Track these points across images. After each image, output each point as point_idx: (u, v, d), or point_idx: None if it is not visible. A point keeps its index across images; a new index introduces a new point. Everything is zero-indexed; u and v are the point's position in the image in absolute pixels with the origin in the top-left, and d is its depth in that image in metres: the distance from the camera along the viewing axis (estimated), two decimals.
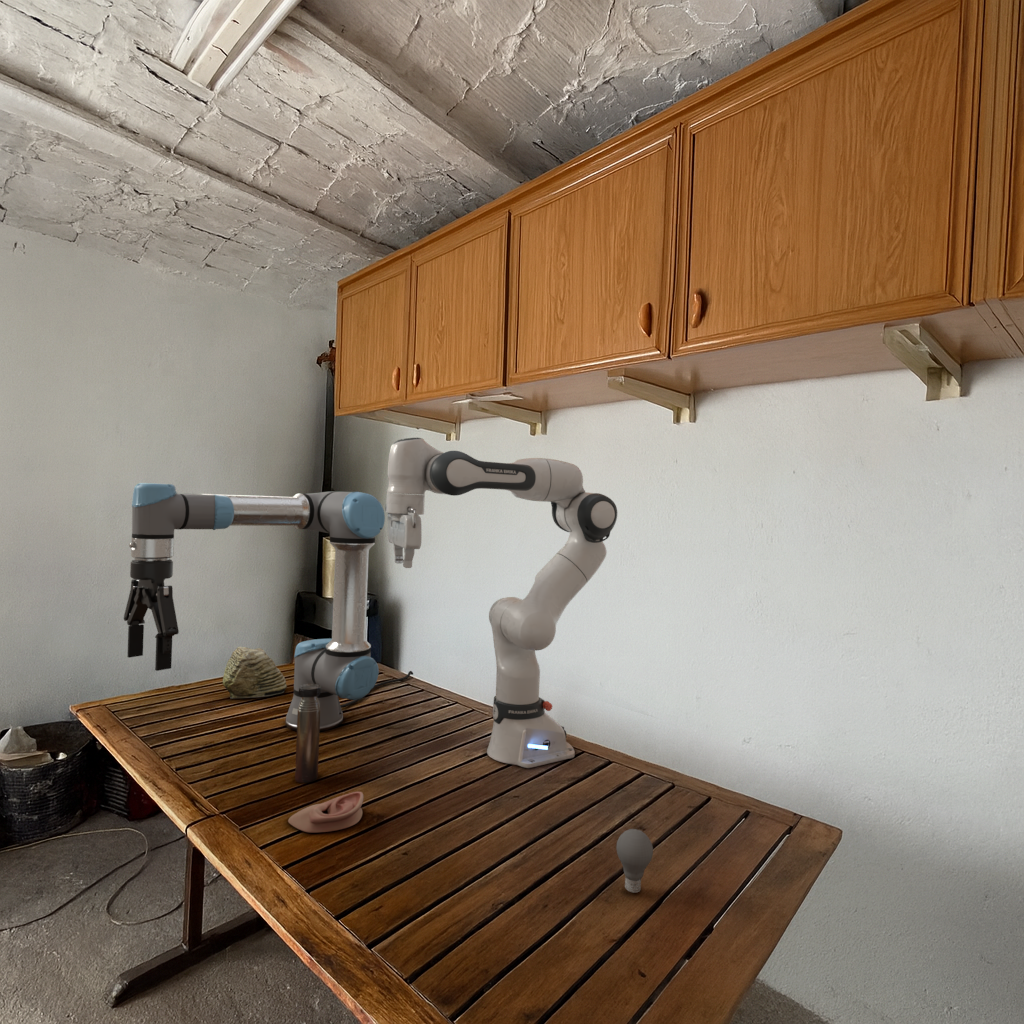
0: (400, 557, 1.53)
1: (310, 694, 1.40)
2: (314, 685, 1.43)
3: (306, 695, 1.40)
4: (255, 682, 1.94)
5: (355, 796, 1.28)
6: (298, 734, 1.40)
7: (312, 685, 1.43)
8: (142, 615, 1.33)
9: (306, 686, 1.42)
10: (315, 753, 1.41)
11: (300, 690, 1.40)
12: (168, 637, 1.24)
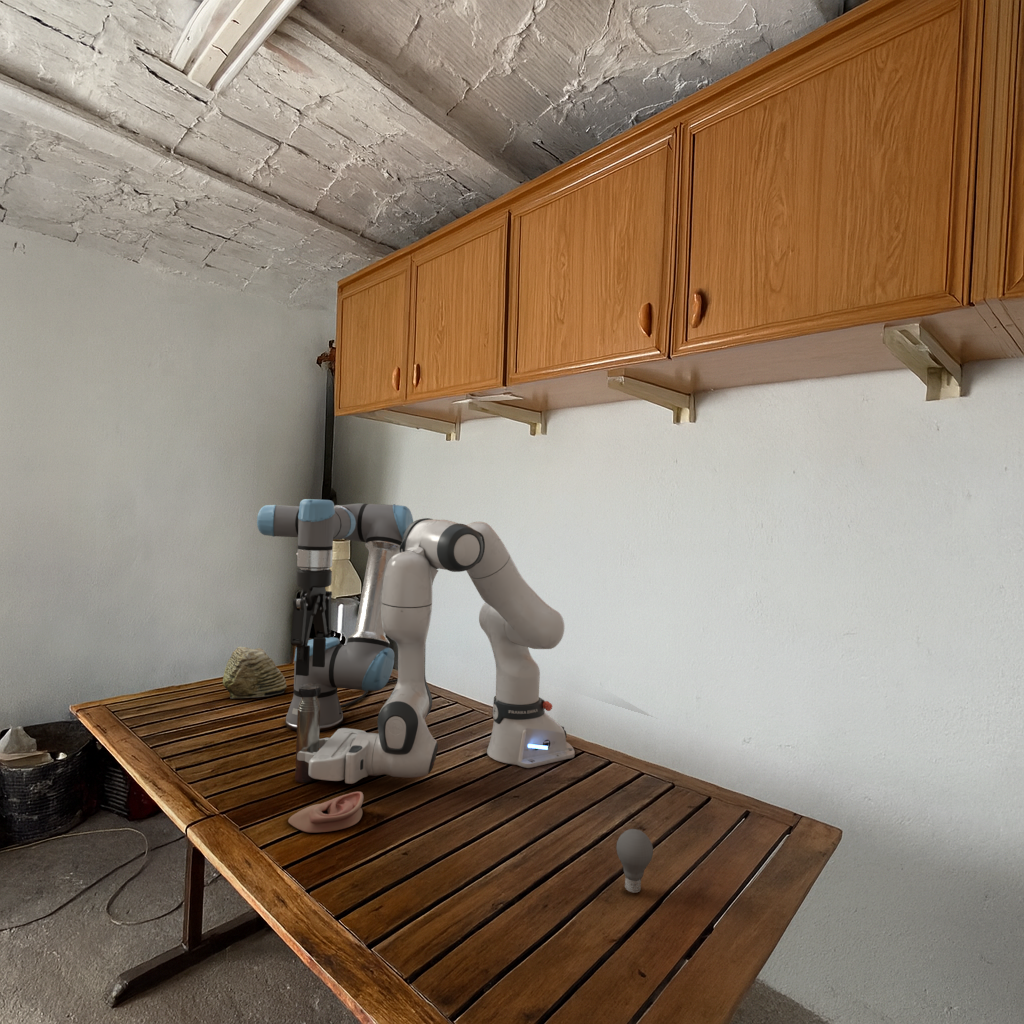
0: None
1: (310, 694, 1.40)
2: (314, 685, 1.43)
3: (306, 695, 1.40)
4: (255, 682, 1.94)
5: (355, 796, 1.28)
6: (298, 734, 1.40)
7: (312, 685, 1.43)
8: (321, 626, 1.45)
9: (306, 686, 1.42)
10: None
11: (300, 690, 1.40)
12: (299, 646, 1.36)
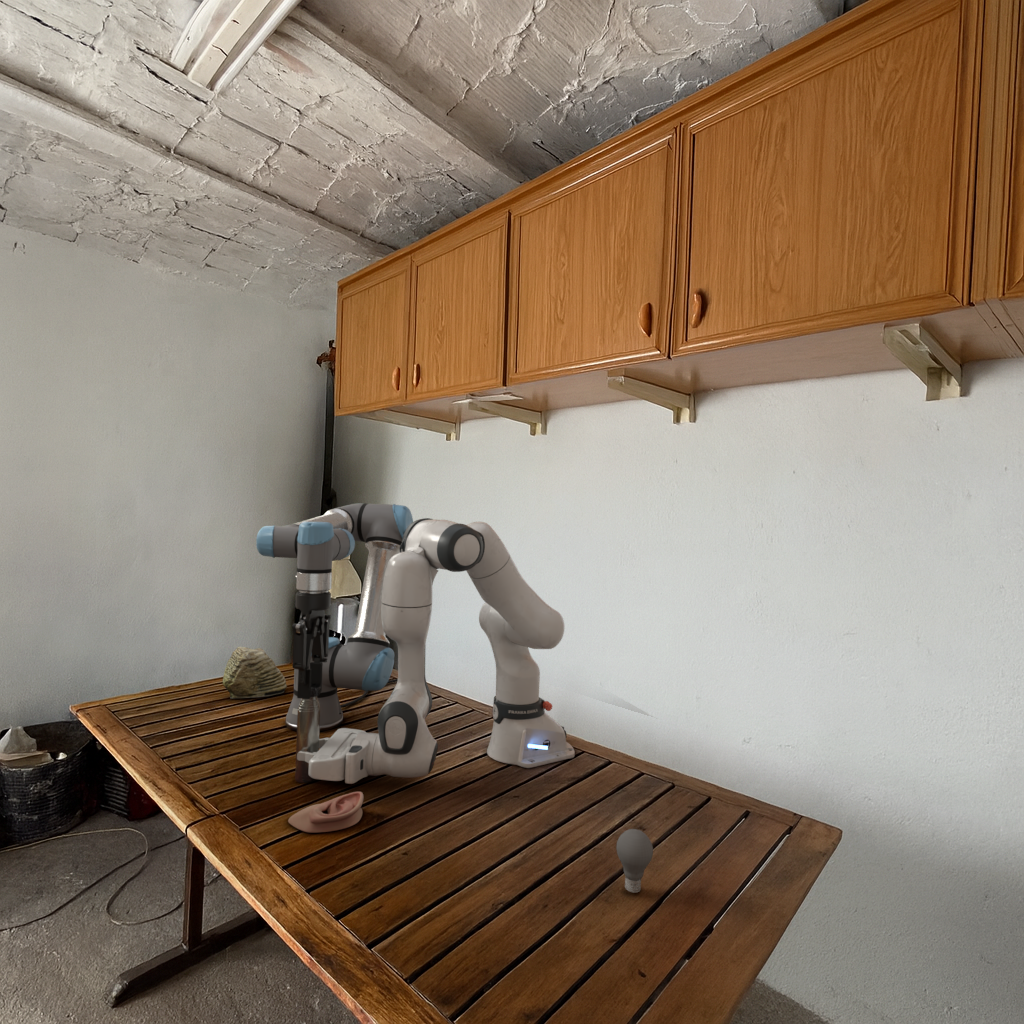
0: None
1: None
2: (314, 685, 1.43)
3: None
4: (255, 682, 1.94)
5: (355, 796, 1.28)
6: (298, 734, 1.40)
7: (312, 685, 1.43)
8: (319, 650, 1.44)
9: None
10: None
11: None
12: (301, 670, 1.38)
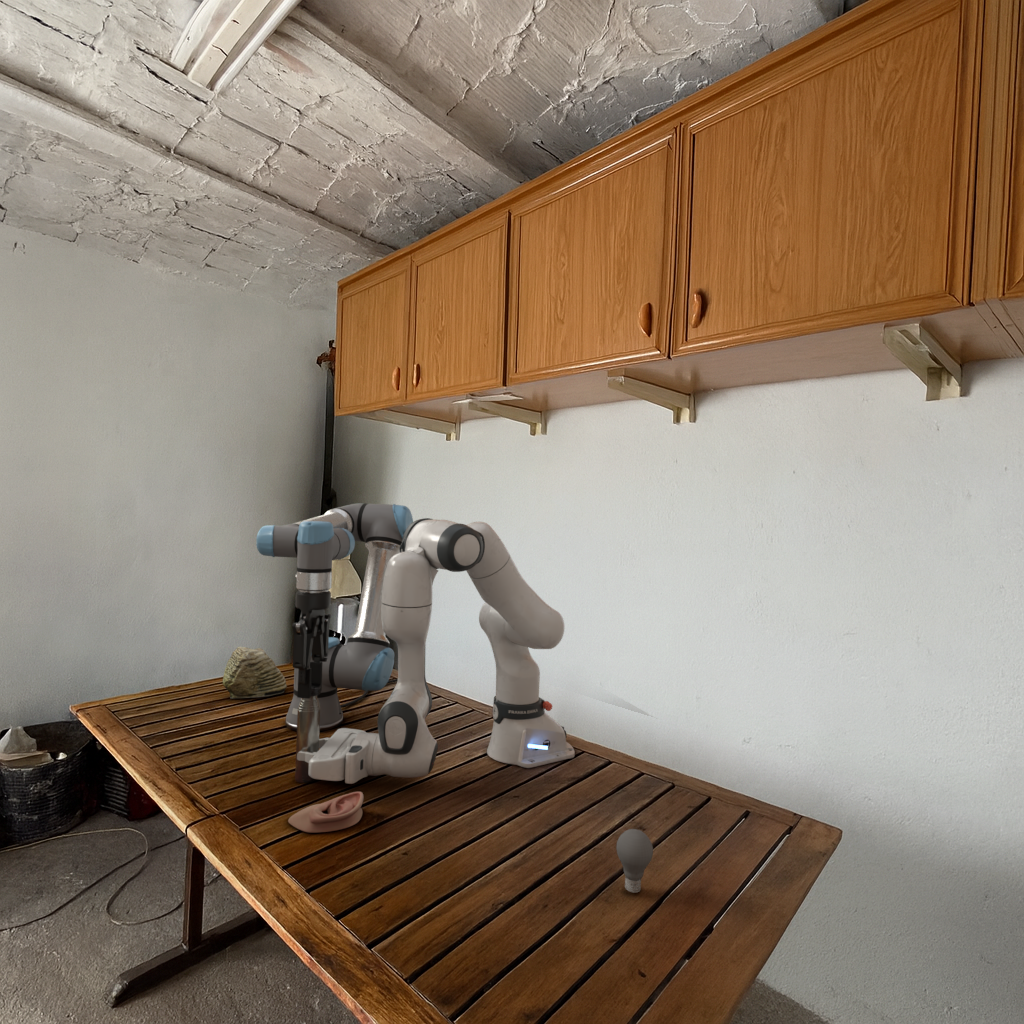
0: None
1: None
2: None
3: (320, 691, 1.43)
4: (255, 682, 1.94)
5: (355, 796, 1.28)
6: (298, 734, 1.40)
7: None
8: (319, 649, 1.44)
9: None
10: None
11: (317, 689, 1.41)
12: (301, 669, 1.38)
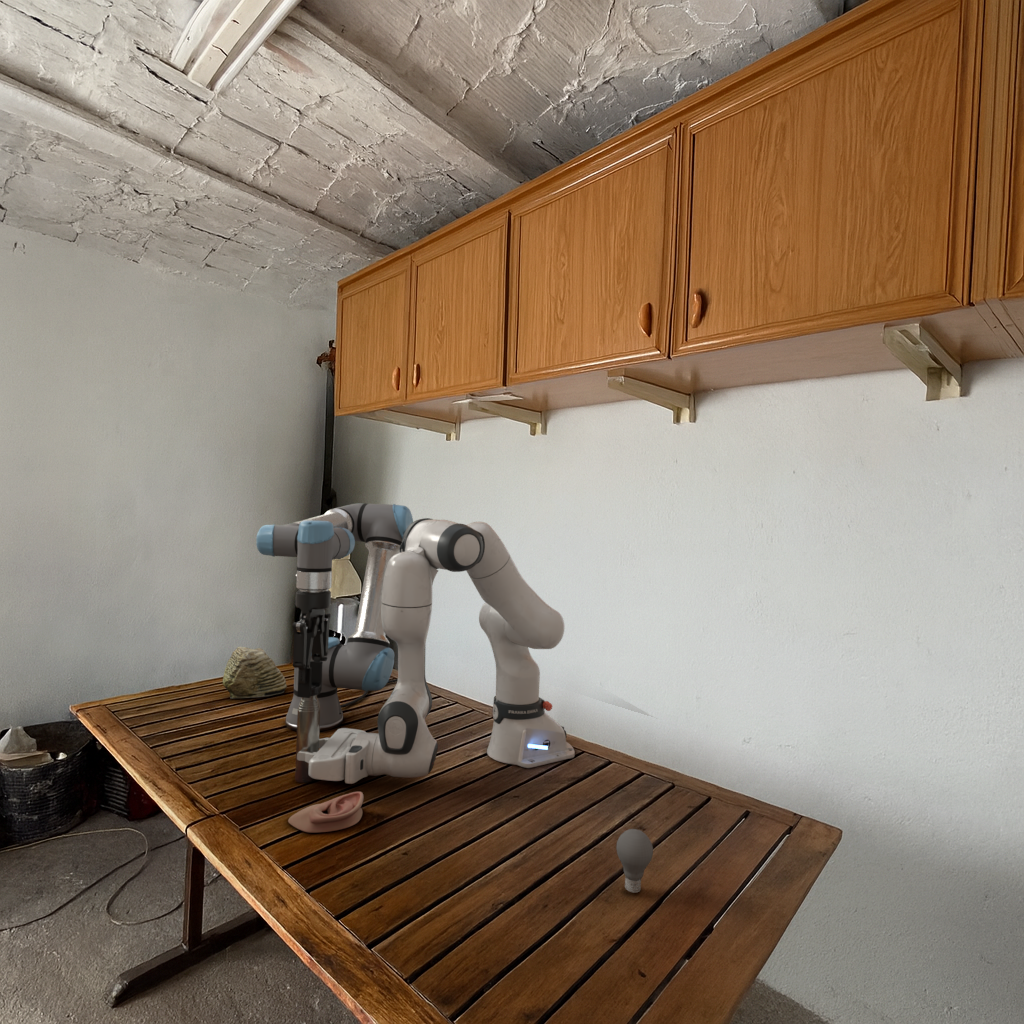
0: None
1: None
2: None
3: None
4: (255, 682, 1.94)
5: (355, 796, 1.28)
6: (298, 734, 1.40)
7: None
8: (319, 649, 1.44)
9: (313, 684, 1.42)
10: None
11: None
12: (301, 669, 1.38)
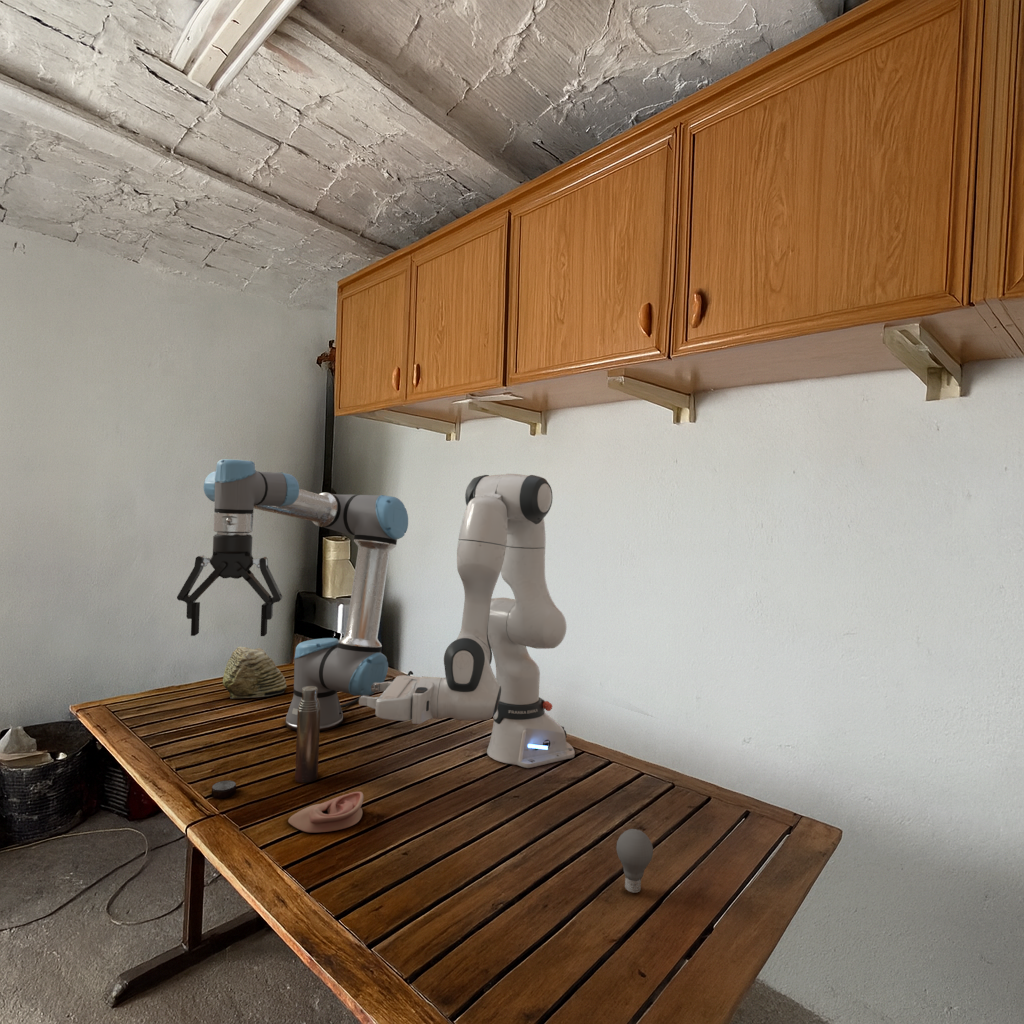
0: None
1: (234, 789, 1.34)
2: (222, 783, 1.34)
3: (233, 793, 1.33)
4: (255, 682, 1.94)
5: (355, 796, 1.28)
6: (298, 734, 1.40)
7: (221, 784, 1.34)
8: None
9: (222, 786, 1.32)
10: (315, 753, 1.41)
11: (225, 792, 1.31)
12: (273, 603, 1.34)
